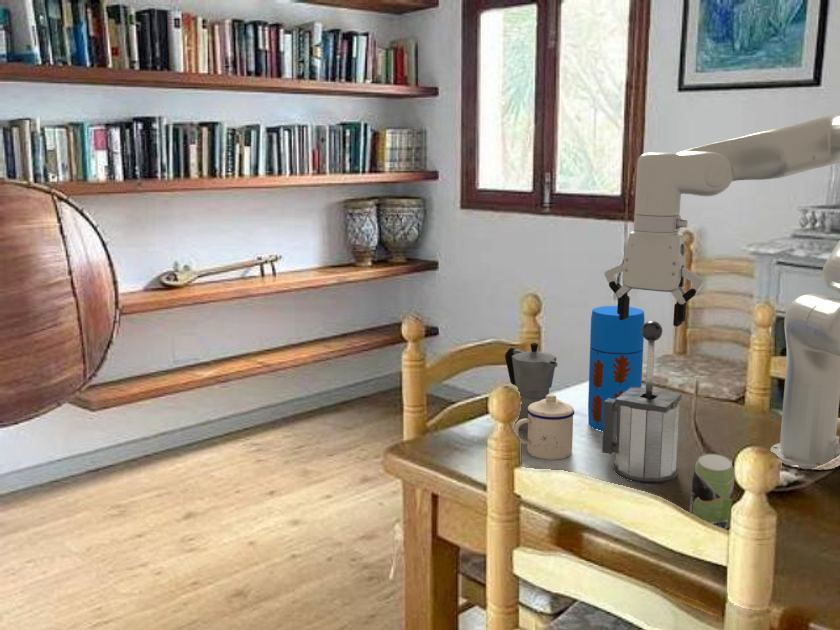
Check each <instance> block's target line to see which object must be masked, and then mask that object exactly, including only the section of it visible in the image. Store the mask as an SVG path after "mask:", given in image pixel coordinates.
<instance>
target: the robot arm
mask: <svg viewBox="0 0 840 630" xmlns="http://www.w3.org/2000/svg"><path fill="white" fill-rule="evenodd" d="M636 163H637V165H636V178H635V179H636V182H635V183H636V184H635V197H634V198H635V203H634V216H633V218H634V219H633V231H632V230H631V231H630V232H629V234H628V239H627V243H626V247H625V251H624V259H623V263H622V264H619V265H617V266H615V267H612V268H611V269H608V270H606V271H605V272H604V277H605V278H606V281H607V283H608V287H609V288H610V289H611V290H612V291H613V293H614V294H615V297H616V298H617V306H618V307H617V314H619V320H624V319H626V318H628V317H629V307H630V300H631V299H630V298H631V297H630V295H629V294H628V293H630V292H631V290H632V289H633V290H641V291H642V290H644V291H652V292H662V293H663V292H664V293H671V294H672V296H673V297H674V299H675V300H676V303H675V304H673V305H674V307H673V320H672V325H673V326H674V327H680V326H681V325H683V322H685V320H686V313H687V302H689V301H690V300H691V299H693V298H694V297H695V296H696V295H697V294H698V293H699V291H700V289H701V288H702V286H704V283H705V279H704V278H703V277H701V276H700V275H698V274H696V273H695V272H693V271H691V270H690V269H688V268H686V267H687V266H686V246H685V236H684V234H683V233H679V231H680V230H681V229H683V228H685V229H686V228H688V224H689V223H688V222H689V221H688V220H687V219H683V218H681V217H682V216H681V215H680V212H681V201H682V200H681V198H682V197H681V196H682V195H683V194H685V195H692V196H698V197H713V196H716V195H719V194H721V193H723V192H725V191H726V190H727V189H728V188H729V187H730V185H731V183H732V182H735V181H736V182H737V181H751V180H752V181H753V180H755V181H758V180H759V181H760V180H761V181H764V180H773V179H774V180H775V179H781V178H785V177H789V176H792V175H795V174H799V173H800V174H801V173H804V172H807V171H811V170H814V169H819V168H823V167H827V166H831V165H835V164H840V113H834V114H829V115H824V116H821V117H816V118H813V119H808V120H806V121H801V122H797V123H794V124H790V125H786V126H782V127H778V128H773V129H770V130H765V131H759V132H756V133H752V134H751V133H750V134H748V135H745V136H740V137H736V138H731V139H726V140H722V141H717V142H712V143H708V144H704V145H701V146H696V147H692V148H689V149H685V150H681V151H679V152H676V153H675V152H645V153H642V154H641V155H640V156H639V157H638V158H637V162H636ZM620 273H622V279H621V281H622V285H621V284H620V283H619V281H618V280H617V277H616V276H617V275H618V274H620ZM821 279H822V281H823V283H824V285H825V287H827V288H828V289H830V290H831V291H833V292H836V293H837V294H840V239H839V241H838V242H837V244H836V245H835V246H834V248H833V250H832V251H831V253H830V254H829V256H828V258H827V260H826V261H825V263H824V265H823V268H822V271H821ZM686 280H688V281H690V282H691V283H692V285H691V287H690V289H688V290H687V291H685V290H684V287H685V285H686ZM783 323H784V324H783V325H784V335H785V336H784V337H785V345H786V363H785V365H786V366H785V379H784V389H783V390H784V391H783V399H782V412H781V415H782V416H781V426H780V437H779V438H780V440H779V443H775V444H773V445H772V446H771V447H770V449H769V450H770V451H771V452H773V453H775V454H776V455H777V456H778V457H779V458H780V459H781V460H782V462H783V463H784V464H783V465H785V466H788V465H798V466H799V467H800V468H801V470H807V469H812V468H815V467H817V466H820V465H823V464H825V463H827V462H829V461H831V460H832V459H834V458H836V457H837V456H839V455H840V436H839V435H837V431H838V420H839V408H840V298H837V297H833V296H828V295H824V294H820V293H819V294H818V293H807V294H803V295H800V296H798V297H797V298H795V299H794V300H793V301H792V302H791V303H790V304H789V305H788V307H787V309H786V311H785V315H784V321H783ZM800 468H799V469H800Z"/></svg>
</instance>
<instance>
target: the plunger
mask: <svg viewBox="0 0 840 630" xmlns="http://www.w3.org/2000/svg"><path fill="white" fill-rule="evenodd" d="M641 332H642V335H643V337H644V339H645V340H646V341H647V351H646V353H647V354H646V355H647V356H646V357H647V358H646V373H645V377H646V379H645V388H646V393H645V398H648V399H652V391H653V390H654V388H653V387H654V385H653V384H654V369H655V367H654V366H655V347H656V345H655V344H656V341H658V340H659V339H660V338H661V337H662V335H663V328H662V325H661V324H660V323H659V322H657V321H655V320H649V321H648V320H647V321H646V322H644V325H643V327H642V330H641Z"/></svg>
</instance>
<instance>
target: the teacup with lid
mask: <svg viewBox="0 0 840 630" xmlns="http://www.w3.org/2000/svg"><path fill="white" fill-rule="evenodd" d="M527 412H528V418H526V419H521V420H519V421H518V422H517V423H516V424H515V426H513V431H514V430H515V431H516V433H517V434H518V435H519V437H520V439H521V442H520V443H521V444H524V445H525V444H526V445H527V451H528V454H529V455H530V456H532V457H534V458H536V459H541V460H550V461H551V460H553V461H554V460H562V459H565V458H568V457H570V456H571V455H572V454H573V437H574V436H573V431H574V425H573V424H574V415H575V410H574V408H573V406H572V405H571V404H569V403H566V402H564V401H562V400H560V399H557V395H555V394H553V393H549V394H548V395H546V399H543V400H541V401H538V402H534V403H532V404H530V405H529V406H528V409H527ZM524 423H528V431H527V438H526V439H525V438H522V437H521V436H520V434H519V430H520V429H519V427H520V426H521V425H522V424H524Z"/></svg>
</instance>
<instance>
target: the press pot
mask: <svg viewBox="0 0 840 630" xmlns="http://www.w3.org/2000/svg"><path fill="white" fill-rule="evenodd" d="M645 393H646V387H641V388H640V387H633V386H632V387H631V388H630V389H628V390H627V391H625V392H624V393H622V394H621V395H620V396H619V397H617V398H616V399H611V398H608V399H607V400H605V401H604V416H603V432H602V445H601V447H602V448H601V453H602V454H607V455H613V454H615V462H614V465H613V471H615V472H614V473H615V474H616V473H617V474H618V475H619V476H618V477H620V476H621V477H620V478H622V477H623V478H622V479H624V478H625V479H624V480H627V479H628V480H627V481H630V480H632V481H631V482H633V481H635V482H634V483H638V482H640V484H649V485H651V484H652V485H653V484H654V485H656V484H665V483H669V482H672V481H674V480H675V479H676V478H677V476H678V468H677V456H678V455H677V454H678V452H677V451H678V437H679V436H678V434H679V421H680V420H679V417H680V403H679V402H680V401H682V393H680V392H679V393H678V392H671V391H666V390H660V389H653V391H652V399H648V398H645ZM617 412H618V415H617ZM617 474H616V475H617Z"/></svg>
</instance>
